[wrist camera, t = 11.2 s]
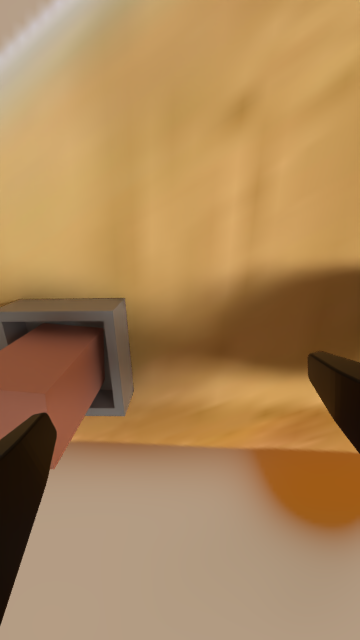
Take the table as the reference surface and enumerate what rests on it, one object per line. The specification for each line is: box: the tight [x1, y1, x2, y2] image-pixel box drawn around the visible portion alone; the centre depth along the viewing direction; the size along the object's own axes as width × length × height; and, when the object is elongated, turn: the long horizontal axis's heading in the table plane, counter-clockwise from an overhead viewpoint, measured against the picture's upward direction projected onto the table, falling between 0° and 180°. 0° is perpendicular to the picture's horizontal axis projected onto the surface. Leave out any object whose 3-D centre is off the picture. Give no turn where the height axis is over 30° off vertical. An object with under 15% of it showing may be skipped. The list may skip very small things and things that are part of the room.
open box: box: [0, 298, 134, 416], centre depth 21 cm, size 9×9×4 cm
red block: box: [0, 323, 105, 469], centre depth 18 cm, size 5×5×9 cm
